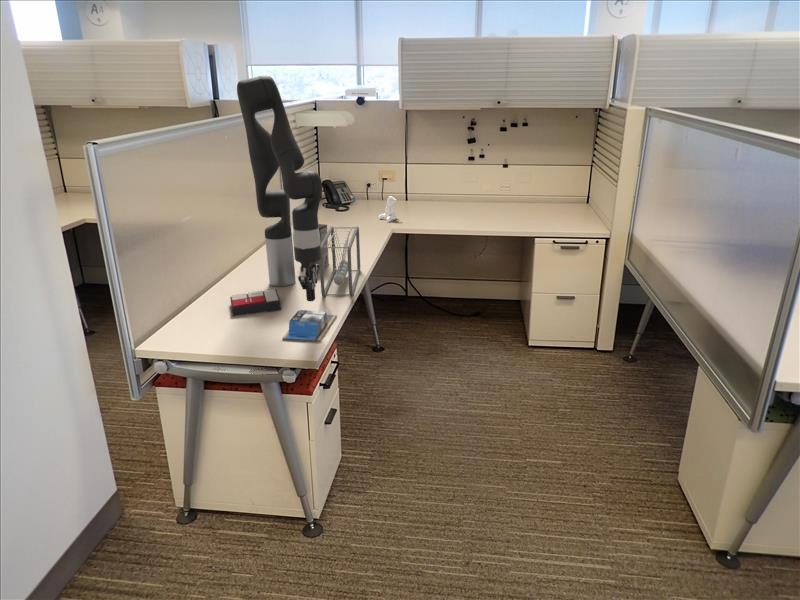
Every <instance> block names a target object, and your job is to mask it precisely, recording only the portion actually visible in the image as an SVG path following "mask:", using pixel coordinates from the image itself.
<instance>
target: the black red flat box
mask: <svg viewBox="0 0 800 600" xmlns="http://www.w3.org/2000/svg"><path fill="white" fill-rule="evenodd" d="M229 298H230V299H229V300H230V305H231V313H232V316H233V317H236V316H244V315H246V316H247V315H251V314H259V313H263V312H264V313H265V312H276V311H282V306H281V300H280V297H279V294H278V291H277V289H276V288H272V289H271V288H270V289H266V290H256V291H251V292H249V291H248V292H247V293H246V292H244V293H243V292H242V293H238V294H232V295H231V296H230V297H229Z"/></svg>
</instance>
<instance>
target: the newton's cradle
mask: <svg viewBox="0 0 800 600" xmlns="http://www.w3.org/2000/svg"><path fill="white" fill-rule="evenodd" d="M338 229H350V230H349V231H346V230H345V231H339V230H338ZM352 229H354V230H353V233H352V235H351V232H352ZM337 232H338V233H339V232H344V233H345V232H346V233H347V232H348V233H347V236H346V239H345V240H344V241H345V242H344V243H343V242H341V243H340V240H339V236H338V233H337ZM350 235H351V238H350V241H349V237H350ZM335 236H336V237H335ZM329 237H330V239H329ZM327 239H329V241H328V245H327V247H324V245H325V243H326V241H327ZM336 240H337V241H336ZM355 240H356V243H355V244H356V262H357V265H356V269H352V247H353V245H354V242H355ZM341 244H343V246H340V245H341ZM329 245H330V246H329ZM320 246H321V259H320V260H319V264H320V268H319V276H320V279H319V280H320V293H321V294H320V295H321V296H322V297H324V298H325V297H326V296H349V297H352V298H353V297H354V294H355V290H356V287H357V283H358V279H359V275H360V272H361V254H360V253H361V250H360V249H361V247H360V228H359V226H358V225H356V226H355V227H354V226H352V227H350V226H348V227H347V226H344V227H343V226H342V227H341V226H339V227H337V226H336V227H335V226H333V225H331V226H330V227H329V229H327V234H326V236H325V238H324V240H323V241H322V243H321V245H320ZM323 248H328V249H330V250H331V254H332V255H331V256H332V271H331V273H330V276H329V278H328V280H327V283H326V285H325V279H324V278H325V274H324V267H323V257H322V249H323ZM341 249H342V250H343V251H342V250H341ZM338 252H340V253H341V254H340V253H338ZM339 256H341V257H339ZM339 258H340V259H339ZM337 259H338V260H337ZM346 259H347V260H346ZM353 272H356V273H355V276H354V279H353V274H352V273H353ZM347 274H348V293H344V294H343V293H342V294H338V293H337V294H336V293H335V294H333V293H330V294H329V293H328V290H329V288H330V286H331V282H332V280H333V282H334V283H335V285H337V286H341V285H343V284H344V283H345V280H346V278H347V277H346V276H347ZM327 293H328V294H327Z"/></svg>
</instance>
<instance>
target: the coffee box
mask: <svg viewBox="0 0 800 600" xmlns="http://www.w3.org/2000/svg"><path fill="white" fill-rule="evenodd" d="M318 228H319V233H320V245H321V243H322V241H323V240H324V238H325V236H326V234H327V232H328V224H322V223H318ZM328 239H329V238H328ZM328 239H327V241H326V243H325V245H324V247H327V245H328V243H329V241H328ZM322 257H323V268H325V267H326V266H328V265H329V264H330V260H329V248H323V249H322ZM316 264H319V261H316ZM319 269H320V264H319Z"/></svg>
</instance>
